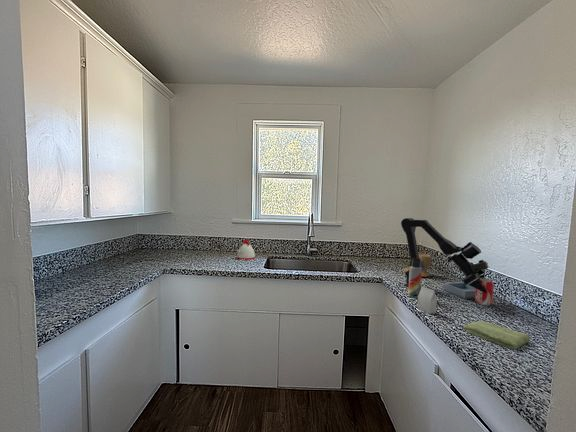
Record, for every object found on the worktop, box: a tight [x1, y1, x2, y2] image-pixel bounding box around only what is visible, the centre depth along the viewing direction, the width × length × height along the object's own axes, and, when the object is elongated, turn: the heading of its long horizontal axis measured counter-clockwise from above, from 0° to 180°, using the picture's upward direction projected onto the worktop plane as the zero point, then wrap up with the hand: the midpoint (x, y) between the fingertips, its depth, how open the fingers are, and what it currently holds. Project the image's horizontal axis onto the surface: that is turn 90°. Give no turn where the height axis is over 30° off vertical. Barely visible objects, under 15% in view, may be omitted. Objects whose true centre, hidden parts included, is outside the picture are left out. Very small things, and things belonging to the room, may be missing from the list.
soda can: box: [474, 277, 495, 307], centre depth 142 cm, size 7×7×12 cm
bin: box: [443, 281, 476, 300], centre depth 157 cm, size 14×14×4 cm
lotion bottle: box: [407, 258, 422, 299], centre depth 150 cm, size 6×6×20 cm
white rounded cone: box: [236, 238, 256, 261], centre depth 230 cm, size 14×14×15 cm
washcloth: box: [462, 320, 531, 350], centre depth 108 cm, size 13×18×3 cm
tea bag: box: [417, 286, 438, 315], centre depth 132 cm, size 4×7×10 cm, turn 24°
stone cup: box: [403, 251, 432, 278], centre depth 193 cm, size 15×12×15 cm
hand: (487, 291), depth 141 cm, fingers closed on soda can, 7 cm apart
